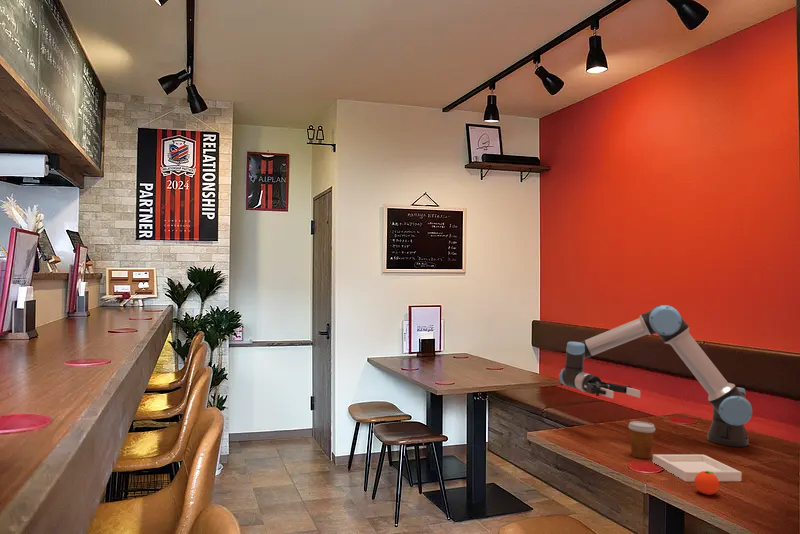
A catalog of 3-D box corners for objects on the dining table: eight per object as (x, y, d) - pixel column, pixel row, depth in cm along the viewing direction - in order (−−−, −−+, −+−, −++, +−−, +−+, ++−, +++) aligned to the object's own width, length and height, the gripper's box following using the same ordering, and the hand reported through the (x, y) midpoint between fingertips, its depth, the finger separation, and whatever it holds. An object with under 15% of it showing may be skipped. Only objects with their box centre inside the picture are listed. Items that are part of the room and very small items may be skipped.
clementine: (701, 488, 199) (702, 465, 199) (724, 494, 194) (725, 471, 194) (690, 493, 194) (690, 470, 194) (713, 499, 188) (714, 476, 188)
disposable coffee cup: (656, 461, 227) (658, 428, 227) (629, 458, 229) (630, 425, 229) (651, 454, 236) (653, 422, 236) (625, 451, 238) (626, 419, 238)
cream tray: (703, 462, 227) (703, 454, 227) (741, 481, 207) (741, 472, 207) (652, 462, 224) (652, 454, 224) (685, 481, 205) (686, 472, 205)
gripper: (611, 391, 265) (649, 403, 246) (563, 392, 255) (600, 404, 236) (612, 374, 265) (651, 384, 246) (565, 374, 255) (602, 385, 236)
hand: (626, 394), depth 241 cm, fingers open, 13 cm apart
